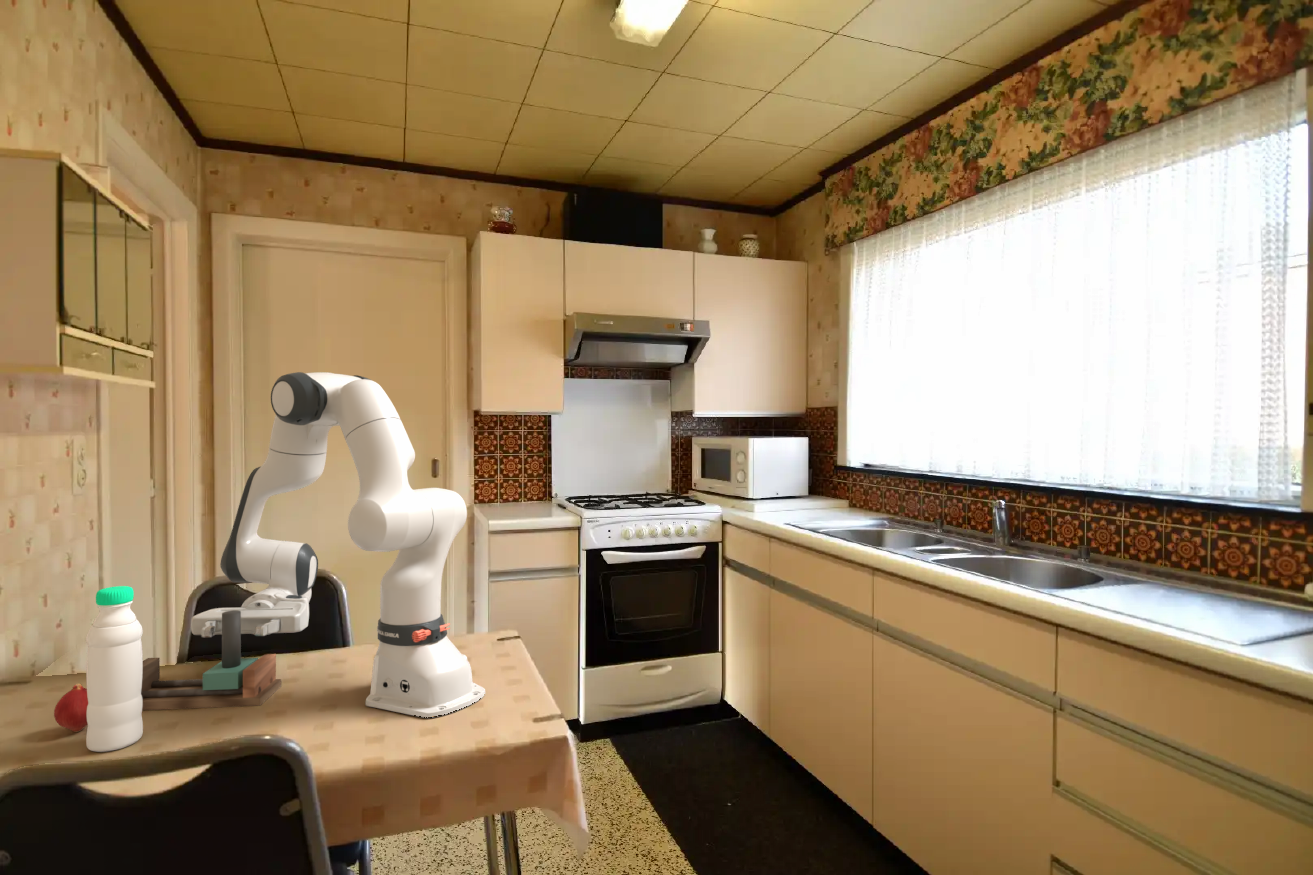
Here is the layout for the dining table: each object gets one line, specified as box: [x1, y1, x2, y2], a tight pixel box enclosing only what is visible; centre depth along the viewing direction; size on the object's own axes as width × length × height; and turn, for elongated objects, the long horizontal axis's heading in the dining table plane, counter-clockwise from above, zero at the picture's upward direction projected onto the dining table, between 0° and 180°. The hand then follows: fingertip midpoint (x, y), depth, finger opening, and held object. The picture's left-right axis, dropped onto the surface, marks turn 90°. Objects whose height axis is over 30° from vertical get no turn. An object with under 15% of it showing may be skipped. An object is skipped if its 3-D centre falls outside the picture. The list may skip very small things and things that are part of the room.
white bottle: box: [85, 585, 144, 753], centre depth 108 cm, size 7×7×25 cm
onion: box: [53, 683, 88, 733], centre depth 112 cm, size 6×6×8 cm
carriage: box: [202, 610, 259, 690], centre depth 126 cm, size 6×8×13 cm
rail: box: [141, 653, 282, 711], centre depth 126 cm, size 24×9×6 cm, turn 97°
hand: (232, 632), depth 127 cm, fingers open, 8 cm apart
